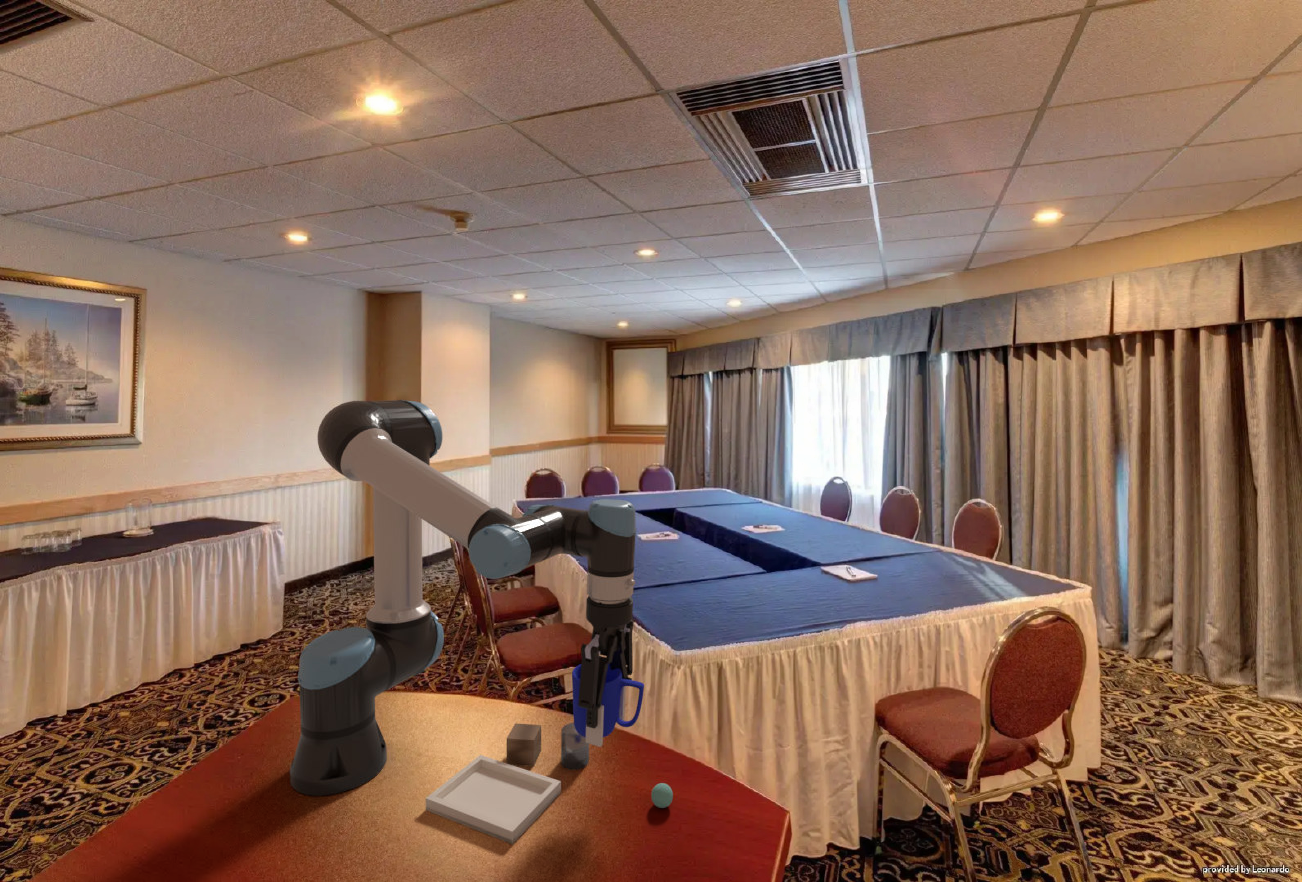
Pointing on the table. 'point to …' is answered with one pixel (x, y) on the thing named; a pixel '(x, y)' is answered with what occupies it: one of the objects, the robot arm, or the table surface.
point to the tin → (573, 748)
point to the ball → (662, 795)
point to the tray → (494, 798)
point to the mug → (605, 701)
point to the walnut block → (524, 744)
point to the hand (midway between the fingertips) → (605, 731)
